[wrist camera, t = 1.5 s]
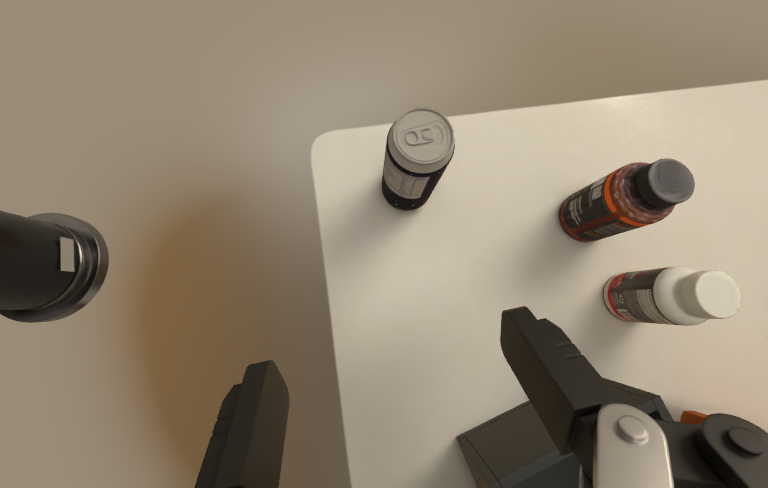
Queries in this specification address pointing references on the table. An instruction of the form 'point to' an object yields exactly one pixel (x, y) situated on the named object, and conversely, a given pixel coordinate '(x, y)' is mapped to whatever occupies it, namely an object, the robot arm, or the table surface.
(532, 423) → the open storage box
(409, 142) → the beverage can
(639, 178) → the supplement bottle
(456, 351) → the table surface
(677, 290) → the pill bottle
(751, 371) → the table surface
